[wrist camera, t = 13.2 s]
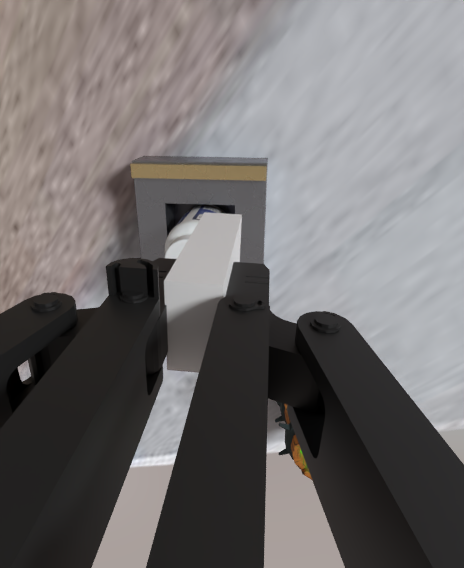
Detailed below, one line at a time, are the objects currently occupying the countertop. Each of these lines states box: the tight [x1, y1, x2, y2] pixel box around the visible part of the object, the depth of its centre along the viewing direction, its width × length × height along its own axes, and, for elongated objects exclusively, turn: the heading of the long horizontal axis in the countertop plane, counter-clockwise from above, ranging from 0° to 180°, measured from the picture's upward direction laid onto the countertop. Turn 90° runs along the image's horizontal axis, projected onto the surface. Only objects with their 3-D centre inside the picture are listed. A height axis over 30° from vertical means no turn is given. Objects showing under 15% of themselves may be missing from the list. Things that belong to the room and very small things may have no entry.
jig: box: [130, 156, 268, 264], centre depth 40 cm, size 14×12×4 cm
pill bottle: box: [165, 204, 226, 259], centre depth 37 cm, size 5×5×10 cm
